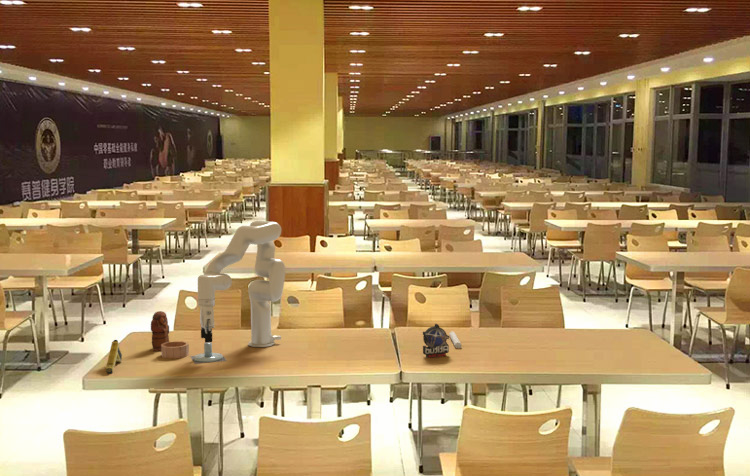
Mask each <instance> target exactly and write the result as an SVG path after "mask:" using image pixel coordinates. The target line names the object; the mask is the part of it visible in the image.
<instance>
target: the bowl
mask: <svg viewBox="0 0 750 476" xmlns="http://www.w3.org/2000/svg"><path fill="white" fill-rule="evenodd" d="M189 347H190V345H189V342H187V341H183V340H182V341H180V340H174V341H173V340H172V341H169V342H166V343H163V344H161V351H160V352H161V353H160V354H161V358H163V359H167V360H168V359H171V360H172V359H182V358H185V357H188V356H189V355H190V354H189V353H190V348H189Z"/></svg>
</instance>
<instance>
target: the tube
mask: <svg viewBox="0 0 750 476" xmlns="http://www.w3.org/2000/svg"><path fill="white" fill-rule="evenodd" d="M448 336H449V339H450V340H451V342H452V343H453V346H454V347H455V348H456V349H461V348H462V343H461V341H460V339H459V338H458V335H457V334H456V332H455V331H454V330H453V331H450V332H449V335H448Z"/></svg>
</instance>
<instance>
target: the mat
mask: <svg viewBox="0 0 750 476" xmlns="http://www.w3.org/2000/svg"><path fill="white" fill-rule="evenodd" d="M219 354H222V353H219ZM194 356H195V355H193V356H192V355H190V356H189V357H190V359H191V360H192V361H193V362H194V364H195V365H197V364H207V363H210V364H211V362H197V361H194ZM216 362H217V363H218V362H220V363H221V362H228V361H227V359H226V357H224V356H223V359H221V360H219V361H214V362H213V363H216Z"/></svg>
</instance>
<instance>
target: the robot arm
mask: <svg viewBox="0 0 750 476" xmlns="http://www.w3.org/2000/svg"><path fill="white" fill-rule="evenodd" d="M281 234H282V226H281V225H280V224H279V223H278V222H276V221H267V220H254V221H252V222H250V224H249V225H241V226H239V227H238V228H237V229H236V231H235V232H234V234H233V236H232V238H231V239H230V241H229V244H228V245H227V246H226V249H225V250H224V251H223V252H222V253H220V254H218V256H217V257H215V258H214V259H212V261H210V263H209V265H208V266H207V268H206V269H205V271H204V273H203V274H201V275H198V277H197V307H199V323H200V338H201V339H204V343H208V342H209V343H212V342H213V329H214V328H215V311H214V307H215V306H216V300H215V299H216V291H225V290H228V289H229V288H230V287H231V286H232V283H233V280H232V277H231V276H230V275H229V274H227V273H222V271H223V269H225V268H228V267H229V266H230V265H234V264H236V263H238V262H240V261H241V260H243V258H244V256H245V253H246V251H247V250H248V248H249V246H250V245H256V247H257V249H256V256H255V262H254V263H255V264H254V273H255V275H256V276H258V277H260V278H265V279H266V278H267V279H268V280H267V279H266V280H264V279H255V280H253V281H251V282H250V283H249V285H248V288H247V292H248V297H249V301H250V326H251V327H250V330H251V331H250V333H251V334H250V335H251V336H250V337H251V338H250V339H251V340H250V341H248V343H247V344H248V346H250V347H252V348H268V347H271V346H272V347H273V346H274V345H275V341H276V340H277V341H279V340H282V336H281V335H277V334H276V335H275V334H274V335H273V334H272V317H271V316H272V310H271V304H270V302H277V301H278V302H279V300H280V299H281V298H282V296H283V293H284V286H285V279H286V271H287V270H286V269H287V268H286V265H285V263H284V261H283V260H281V259H278V258H275V254H276V253H275V251H276V247H275V246H276V245H275V243H274V241H275V240H277V239H279V237H280V236H281Z"/></svg>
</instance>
